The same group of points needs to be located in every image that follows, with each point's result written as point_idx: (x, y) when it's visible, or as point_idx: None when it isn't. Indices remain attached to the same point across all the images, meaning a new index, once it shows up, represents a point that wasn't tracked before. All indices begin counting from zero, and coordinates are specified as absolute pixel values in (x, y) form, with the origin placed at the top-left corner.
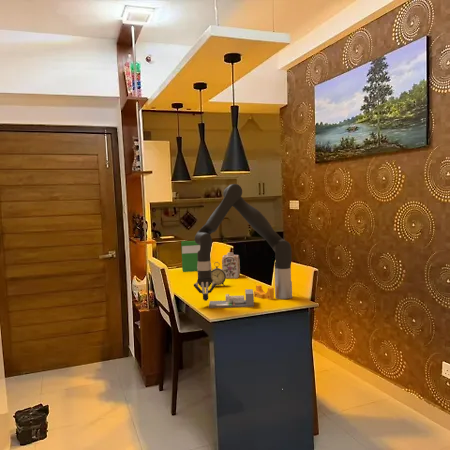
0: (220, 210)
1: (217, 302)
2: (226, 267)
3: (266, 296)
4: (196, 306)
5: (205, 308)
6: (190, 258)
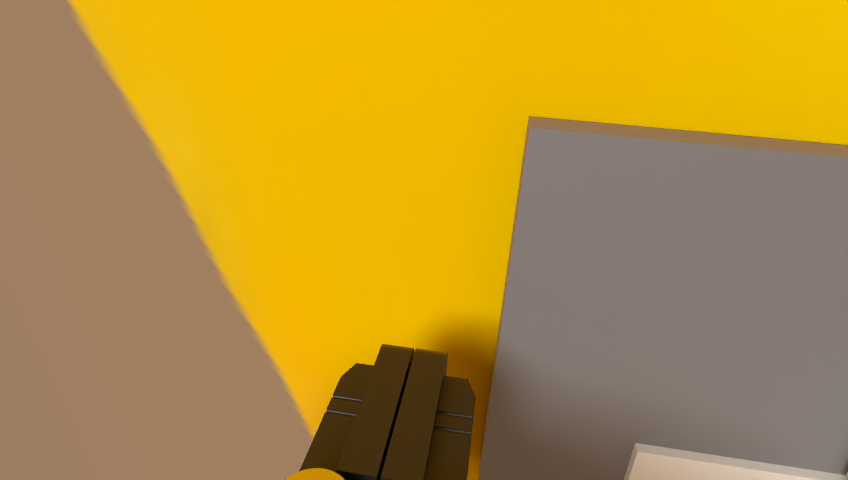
0: None
1: (700, 292)
2: None
3: None
4: (258, 313)
5: None
6: None
